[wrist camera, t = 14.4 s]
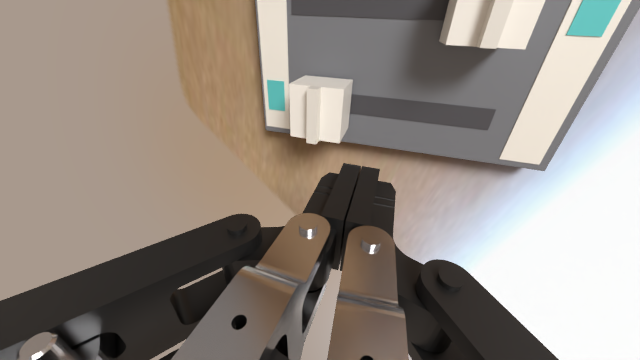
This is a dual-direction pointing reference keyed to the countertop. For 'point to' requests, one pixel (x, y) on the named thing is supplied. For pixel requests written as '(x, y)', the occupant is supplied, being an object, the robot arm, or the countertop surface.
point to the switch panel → (441, 74)
